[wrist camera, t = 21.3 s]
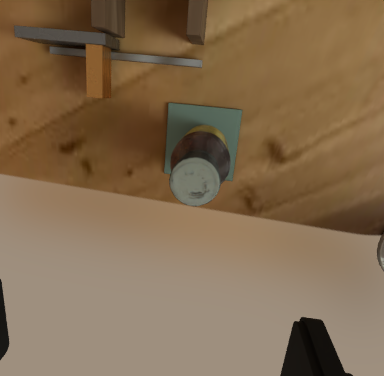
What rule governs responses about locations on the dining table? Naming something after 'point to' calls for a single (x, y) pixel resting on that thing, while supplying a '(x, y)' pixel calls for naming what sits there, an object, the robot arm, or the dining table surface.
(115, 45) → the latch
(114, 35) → the cradle
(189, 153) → the sauce bottle
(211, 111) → the mat
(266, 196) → the dining table surface
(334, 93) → the dining table surface
